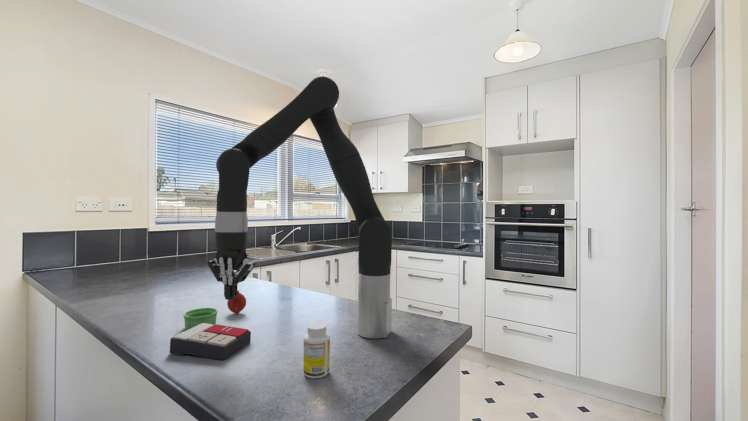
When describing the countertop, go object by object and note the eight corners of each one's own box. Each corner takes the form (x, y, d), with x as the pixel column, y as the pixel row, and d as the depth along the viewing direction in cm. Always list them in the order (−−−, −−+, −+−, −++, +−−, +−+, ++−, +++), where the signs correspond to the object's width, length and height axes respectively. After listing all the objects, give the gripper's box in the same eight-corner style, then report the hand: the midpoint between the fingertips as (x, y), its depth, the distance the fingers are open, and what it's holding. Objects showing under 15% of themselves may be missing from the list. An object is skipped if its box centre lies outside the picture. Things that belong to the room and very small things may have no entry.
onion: (223, 315, 107) (223, 291, 107) (236, 310, 112) (236, 287, 112) (236, 317, 105) (237, 293, 105) (249, 312, 110) (250, 289, 110)
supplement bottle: (318, 364, 74) (318, 319, 74) (334, 372, 70) (335, 325, 70) (297, 373, 70) (298, 326, 70) (314, 382, 66) (315, 332, 66)
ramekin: (193, 335, 90) (194, 319, 90) (176, 328, 95) (177, 313, 95) (223, 325, 98) (223, 310, 98) (206, 319, 103) (206, 305, 103)
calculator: (225, 344, 75) (169, 335, 78) (223, 363, 75) (168, 353, 78) (252, 328, 86) (202, 320, 89) (250, 344, 86) (201, 336, 89)
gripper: (263, 230, 83) (262, 297, 83) (221, 228, 87) (220, 293, 87) (243, 231, 76) (242, 305, 76) (198, 229, 80) (197, 300, 80)
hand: (230, 299), depth 81 cm, fingers closed
